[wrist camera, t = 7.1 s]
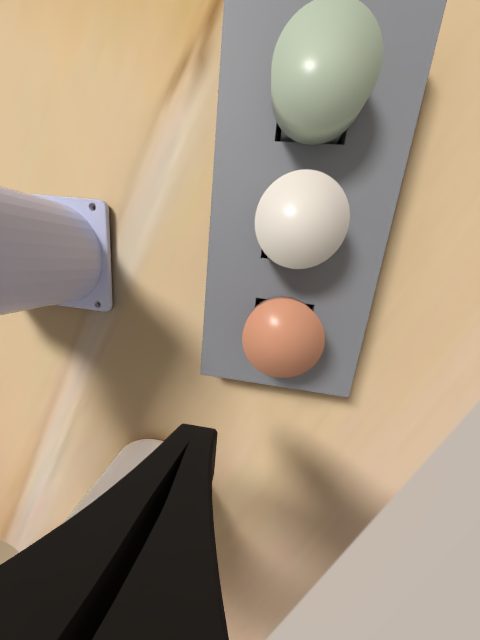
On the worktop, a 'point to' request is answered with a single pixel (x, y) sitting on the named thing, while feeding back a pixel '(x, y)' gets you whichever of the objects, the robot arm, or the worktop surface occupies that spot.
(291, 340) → the terracotta button
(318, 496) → the worktop surface
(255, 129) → the button panel
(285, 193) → the cream button
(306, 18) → the sage button
